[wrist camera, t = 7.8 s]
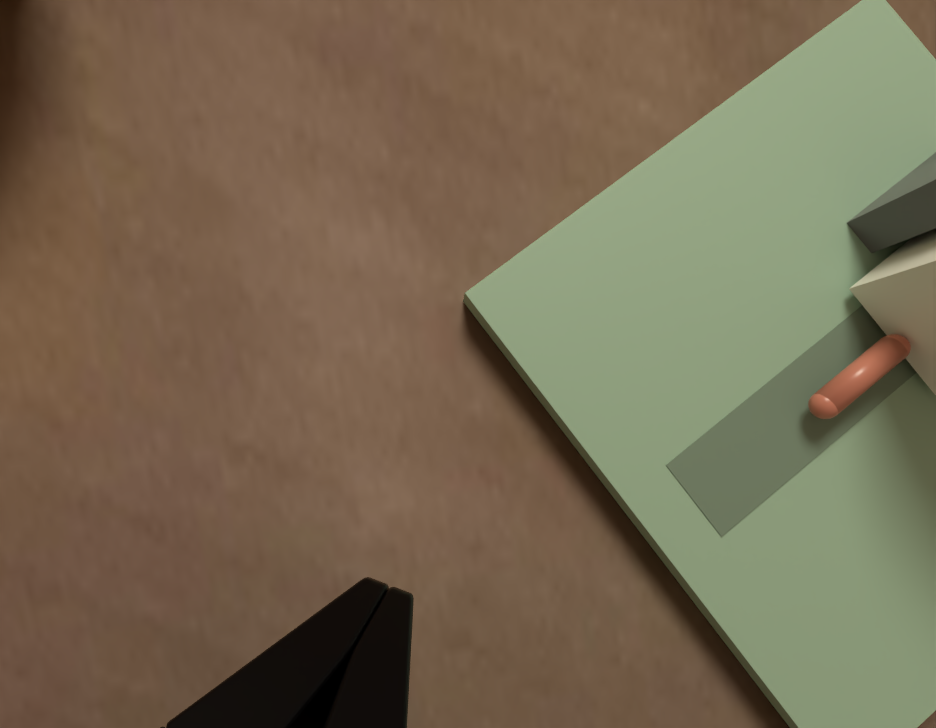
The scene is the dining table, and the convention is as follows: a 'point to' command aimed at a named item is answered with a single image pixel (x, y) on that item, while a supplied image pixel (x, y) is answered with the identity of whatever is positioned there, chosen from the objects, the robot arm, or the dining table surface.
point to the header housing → (900, 210)
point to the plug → (891, 325)
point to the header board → (757, 372)
